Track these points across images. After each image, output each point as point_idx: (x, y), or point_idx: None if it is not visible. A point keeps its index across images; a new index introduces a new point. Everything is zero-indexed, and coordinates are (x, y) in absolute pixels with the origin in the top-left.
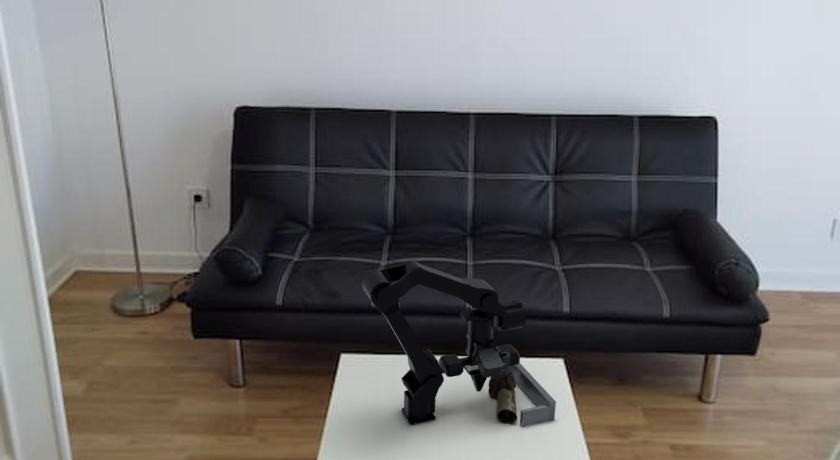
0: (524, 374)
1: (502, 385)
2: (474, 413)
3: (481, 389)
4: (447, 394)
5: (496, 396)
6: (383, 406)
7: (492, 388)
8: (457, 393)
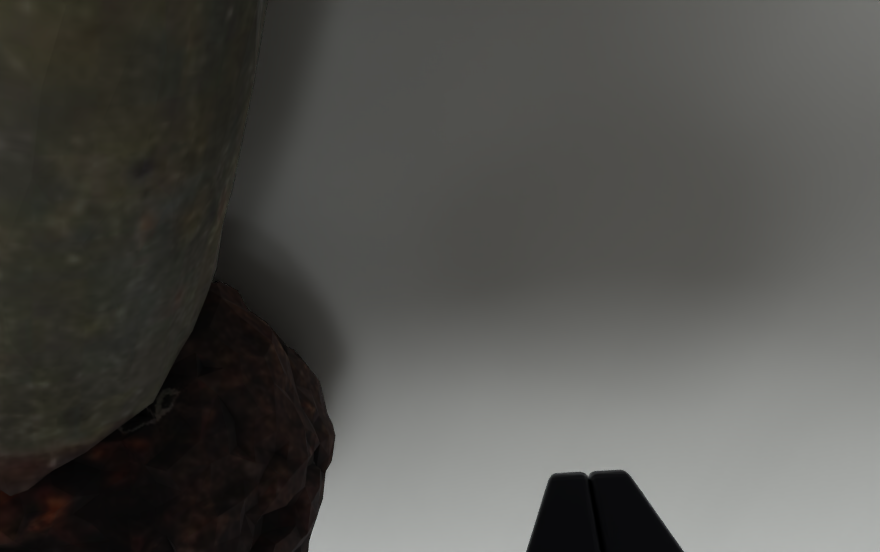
0: None
1: (30, 532)
2: (750, 48)
3: (542, 509)
4: (854, 522)
5: (221, 336)
6: None
7: (259, 503)
8: (720, 516)
